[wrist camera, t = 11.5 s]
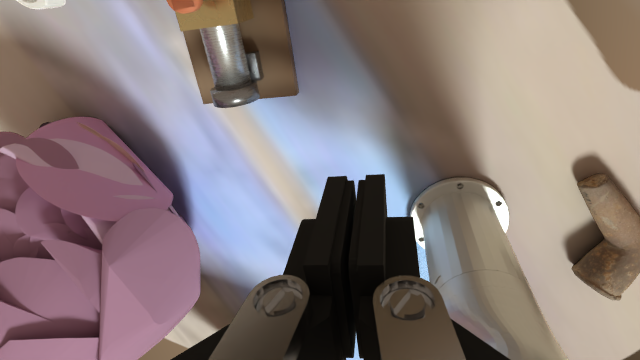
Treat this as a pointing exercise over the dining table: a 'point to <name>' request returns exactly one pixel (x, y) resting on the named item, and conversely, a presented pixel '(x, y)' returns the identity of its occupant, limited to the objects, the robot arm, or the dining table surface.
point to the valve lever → (185, 5)
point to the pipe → (610, 239)
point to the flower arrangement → (88, 247)
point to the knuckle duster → (42, 3)
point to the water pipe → (226, 50)
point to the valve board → (257, 35)
